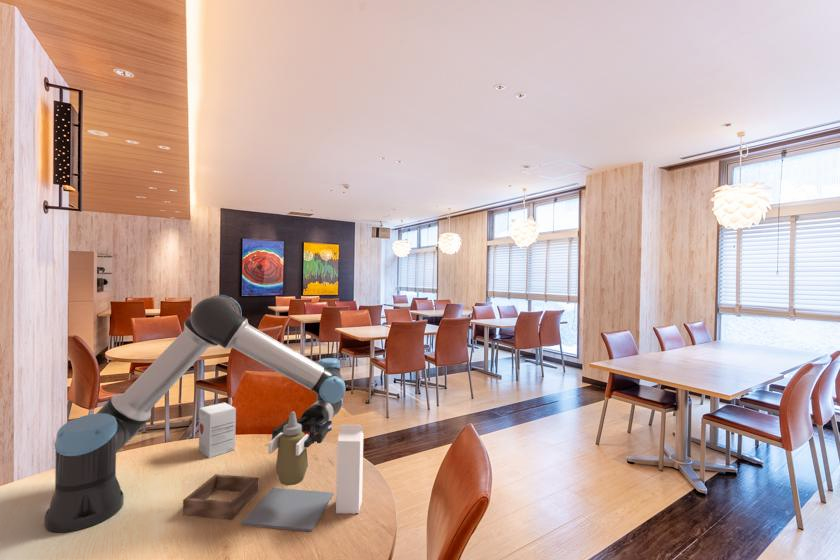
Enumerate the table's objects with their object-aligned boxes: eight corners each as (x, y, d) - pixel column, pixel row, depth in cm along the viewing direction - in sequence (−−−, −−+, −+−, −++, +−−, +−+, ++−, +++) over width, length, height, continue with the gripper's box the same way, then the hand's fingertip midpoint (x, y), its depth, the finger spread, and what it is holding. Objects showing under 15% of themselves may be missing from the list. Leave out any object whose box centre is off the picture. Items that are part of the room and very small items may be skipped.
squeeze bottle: (298, 490, 97) (298, 419, 97) (269, 486, 99) (269, 416, 99) (313, 474, 105) (314, 408, 105) (286, 471, 107) (286, 406, 107)
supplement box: (197, 450, 135) (198, 407, 134) (224, 442, 141) (225, 401, 141) (208, 458, 129) (209, 413, 129) (235, 450, 136) (236, 407, 135)
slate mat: (241, 525, 95) (241, 522, 95) (272, 489, 111) (272, 487, 111) (311, 531, 93) (311, 529, 93) (333, 494, 109) (333, 492, 109)
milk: (340, 500, 106) (341, 420, 106) (362, 500, 106) (363, 420, 106) (335, 513, 100) (337, 428, 100) (359, 514, 100) (360, 429, 100)
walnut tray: (182, 515, 98) (183, 499, 98) (215, 488, 111) (215, 474, 111) (231, 520, 97) (231, 504, 97) (258, 491, 110) (258, 477, 110)
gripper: (347, 430, 119) (320, 466, 96) (287, 426, 121) (246, 461, 98) (348, 405, 119) (321, 436, 96) (287, 402, 121) (246, 432, 98)
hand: (283, 449), depth 97 cm, fingers closed on squeeze bottle, 6 cm apart
